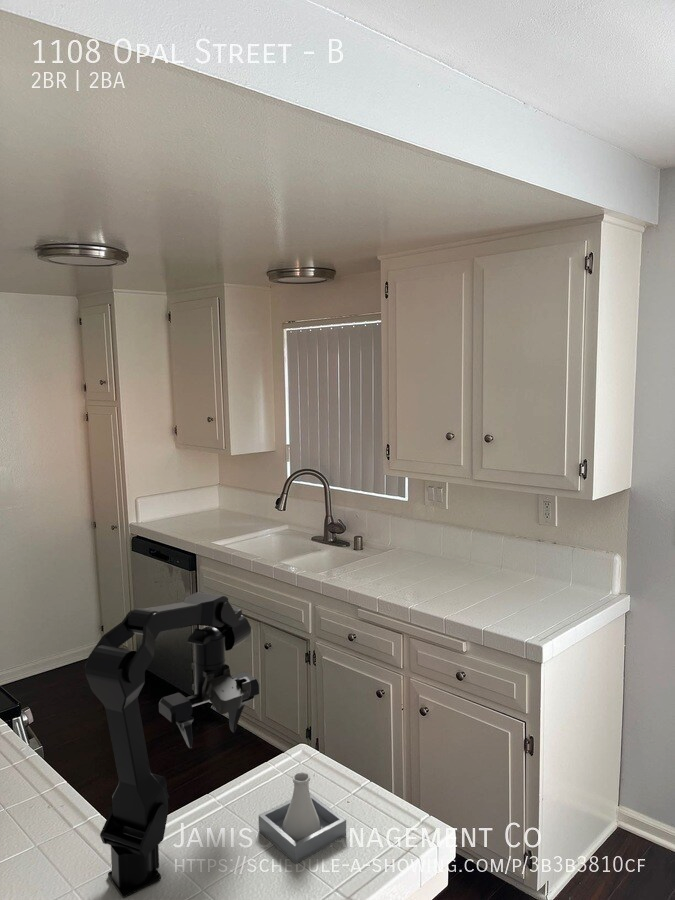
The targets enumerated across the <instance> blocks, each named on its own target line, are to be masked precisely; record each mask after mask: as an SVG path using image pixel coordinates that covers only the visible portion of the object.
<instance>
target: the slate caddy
mask: <svg viewBox="0 0 675 900" xmlns="http://www.w3.org/2000/svg"><path fill="white" fill-rule="evenodd" d="M309 793H310V796H311V799H312V802H313V805H314V808H315V810H316V813H317V815H318V818H319V820H320V825H321V830H319V831H317V832H315V833H313V834H311V835H309V836H308V837H306V838H304V839H302V840H300V841H298V842H296V841H294V840H293V839H292V838H291V837H290V836H288V835H287V834H286V833H285V832H284V831H283V830H282V825H283V822H284V819H285V816H286V814H287V811H288V808H289V805H290V802H291V799H288V800H287V801H284V802H282V803H281V804H279V805H276V806H275V807H272V808H270V809H268V810H266V811H264V812H261V813H260V814H258V832H260V833H261V834H262V835H263V836H264V837H265V838H266V839H267V840H268V841H270V843H272V844H273V845H274V846H275V847H276V848H277V849H278V850H280V852H282V853H283V854H284V855H285V857H287V858H289V860H291V861H292V862H293V863H294V864H296V865H297V864H298V863H299V862H302V861H303V860H305V859H307V858H308V857H311V856H312V855H314V854H316V853H318V852H320V851H321V850H323V849H325V848H327V847H329V846H331V845H333V844H334V843H336V842H338V841H340V840H342V839H343V838H345V837H347V819H346V818H345V817H344V816H342V815H341V814H339V813H338V812H337V811H335V810H334V809H333V808H331V807H330V806H329V805H327V804H326V803H324V802H323V801H322V800H320V799H319V798H318V797H316V796H315V795H314V794H313V793H311V792H310V791H309Z"/></svg>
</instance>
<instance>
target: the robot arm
mask: <svg viewBox="0 0 675 900" xmlns="http://www.w3.org/2000/svg"><path fill="white" fill-rule="evenodd" d="M184 599H185V600H183V601H182V602H181V601H180V602H175V603H174V602H173V603H169V604H164V605H157V606H151V607H147V608H146V607H145V608H140V607H135V608H133V609H130V610H129V612H128V613H126V616H125V617H124V618H123V619H122V621H121V622H119V623H118V624H117V625H116V626H115V627H113V628H111V629H110V630H109V631H107V632H106V633H105V634H104V635H102V636H101V638H100V639H99V641H98V642H97V644H96V645H95V646H94V648H93V649H92V651H91V652H90V654H89V655H88V657H87V659H86V662H85V665H84V672H85V673H84V674H85V677H86V681H87V682H88V685H89V687H90V690H91V692H92V693H93V694H94V695H95V697H96V698H98V700H99V701H100V703H102V705H103V706H104V710H105V713H106V714H105V715H106V722H107V725H108V730H109V737H110V741H111V747H112V752H113V756H114V762H115V769H116V773H117V777H118V778H117V779H118V785H117V786H116V789H115V791H114V792H113V794H112V797H111V799H112V800H111V801H112V807H111V808H110V809H111V810H110V811H109V814H108V816H107V818H106V820H105V822H104V825H103V827H102V829H101V831H100V833H99V837H100V839H101V841H102V844H104V845H108V846H109V845H110V854H111V855H110V857H111V858H110V859H111V860H110V861H111V870H110V871H108V873H107V877H108V878H109V881H111V883H112V885H113V886H114V888H115V889H116V890H117V892H118V893H119V895H120V896H121V897H122V898H126V897H128V896H130V895H133V894H134V893H137V892H138V891H140V890H142V889H144V888H146V887H149V886H150V885H152V884H155V883H156V882H158V881H160V880H161V879H162V875H161V873H160V872H159V870H158V869H159V868H160V851H159V849H160V848H159V847H160V844H161V843H162V842H163V840H164V838H165V833H166V827H167V826H166V825H167V820H168V815H169V801H168V800H169V799H170V798H171V796H170V795H169V791H168V787H167V786H168V785H167V784H168V783H167V780H166V777H165V776H162V775H159V774H155V773H152V772H151V768H150V761H149V756H148V749H147V744H146V739H145V732H144V727H143V720H142V715H141V710H140V704H139V695H140V693H141V691H142V689H143V687H144V685H145V681H146V676H145V675H146V673H145V672H146V670H147V669H148V668H149V666H150V665H151V663H152V662H153V659H154V657H155V646H156V644H155V643H156V639H157V637H158V635H159V634H160V633H165V632H169V631H173V630H174V631H175V630H179V629H183V628H187V627H192V626H203V627H202V628H194V630H193V632H192V633H191V634H190V635H189V636H188V637H187V643H189V644H194V645H193V646H194V647H193V648H194V649H193V651H194V662H192V663H191V669H192V670H193V671H194V683H192V684H191V690H192V691H194V693H195V694H192V695H190V696H189V695H188V696H187V697H186V696H185V695H184V694H182V693H180V692H176V693H172V694H169V695H166V696H163V697H161V699H160V700H159V702H158V712H159V714H161V715H162V716H163V717H164V718H166V719H167V720H168V721H169V722H170V723H173V724H174V723H175V724H176V725H177V727H178V729H179V731H180V733H181V735H182V737H183V739H184V742H185V743H186V746H187V747H188V748H189V749H192V748H193V731H192V730H193V729H192V723H193V722H194V719H195V718H194V717H193V716H192V714H193V713H194V712H193V711H194V710H193V708H194V707H196V706H200V705H203V704H206V703H209V702H210V703H211V704H212V705H213V707H214V708H215V710H216V712H217V714H221V715H225V714H227V713H228V714H227V715H228V723H229V724H228V725H229V729H230V731H231V732H232V733H235V732H236V730H237V726H238V724H239V721H240V718H241V715H242V712H243V710H244V708H245V706H246V705H247V704H248V703H249V702H250V701H252V700H254V698H255V696H257V695H258V696H259V694H260V693H261V685H260V682H259V680H258V679H257V678H256V677H254V676H252V675H251V674H249V673H247V672H245V671H243V672H240V673H236V674H233V675H231V669H230V666H229V665H228V664H226V663H227V662H226V658H227V657H226V652H227V651H230V650H233V649H234V648H235V647H238V645H241V644H242V643H243V642H244V641H246V640H248V638H249V637H250V635H251V633H252V627H251V625H250V622H249V621H248V619H247V618H246V616H244V615H243V610H242V609H238V608H235V607H234V608H233V606H232V604H231V603H230V602H229V597H228V596H226V595H221V594H212V593H206V592H201V591H197V592H194V593H192V594H190V595H188V596H186V597H185V598H184ZM204 626H205V627H204ZM134 635H142V641H141V642H142V643H141V644H140V645H139V648H138V649H137V650H133V649H129V648H124V647H121V646H122V645H123V644H125V643H126V642H128V641H129V640H130V639H131V638H133V637H134Z"/></svg>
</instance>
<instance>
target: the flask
mask: <svg viewBox="0 0 675 900" xmlns="http://www.w3.org/2000/svg"><path fill="white" fill-rule="evenodd" d="M291 778H292V782H293V791H292V795H291V799H290V800H291V802H290V805H289V808H288V811H287V814H286V816H285V819H284V822H283V825H282V830H283V831H284V832H285V833H286V834H287V835H288V836H290V837H291V838H292V839H293V840H294V841H296V842H298V841H300V840H302V839H304V838H306V837H308V836H309V835H311V834H313V833H315V832H317V831H319V830H321V825H320V820H319V818H318V815H317V813H316V810H315V808H314V805H313V802H312V799H311V796H310V793H311V792H310V789H309V783H310V780H311V776H310V773H308V772H304V771H299V772H297V771H296V772H295V773H294V774H293V775H292V776H291ZM309 792H310V793H309Z"/></svg>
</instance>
